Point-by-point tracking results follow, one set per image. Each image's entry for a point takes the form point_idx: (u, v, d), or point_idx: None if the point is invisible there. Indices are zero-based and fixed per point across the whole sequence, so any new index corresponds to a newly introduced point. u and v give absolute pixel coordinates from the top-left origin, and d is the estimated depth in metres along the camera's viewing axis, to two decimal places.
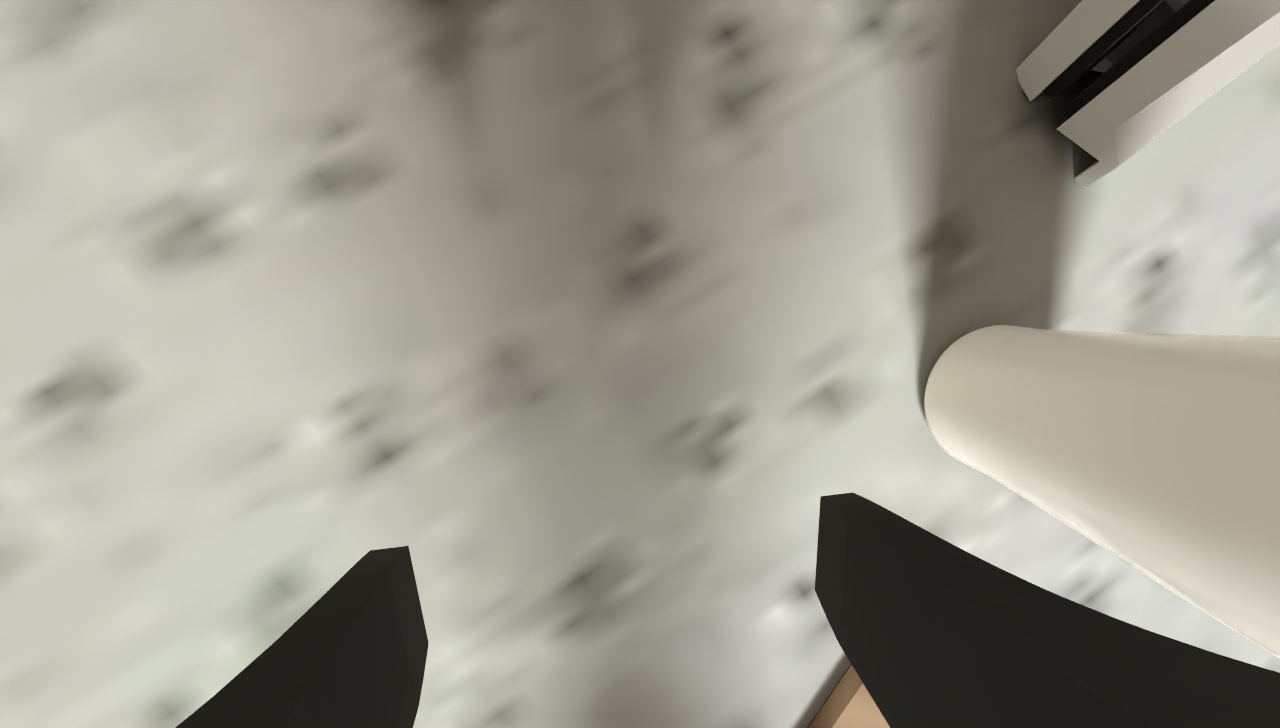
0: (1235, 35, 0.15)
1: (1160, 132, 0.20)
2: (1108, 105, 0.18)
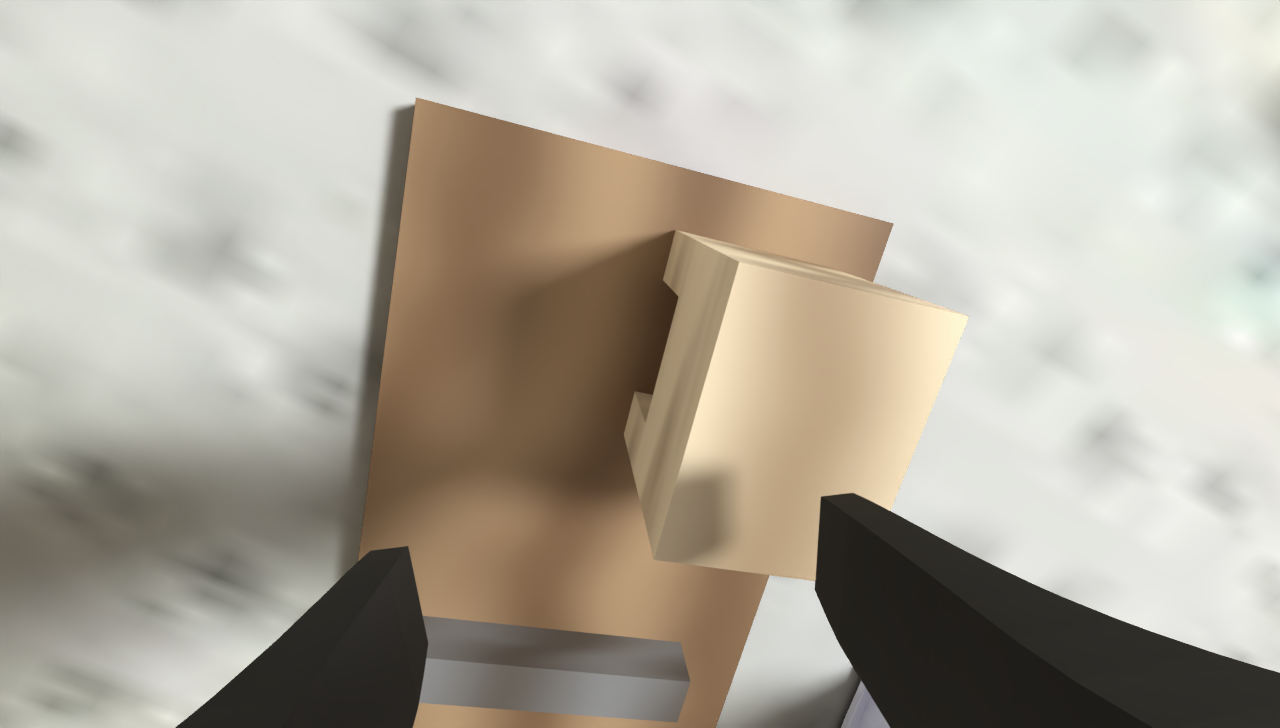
0: None
1: None
2: None
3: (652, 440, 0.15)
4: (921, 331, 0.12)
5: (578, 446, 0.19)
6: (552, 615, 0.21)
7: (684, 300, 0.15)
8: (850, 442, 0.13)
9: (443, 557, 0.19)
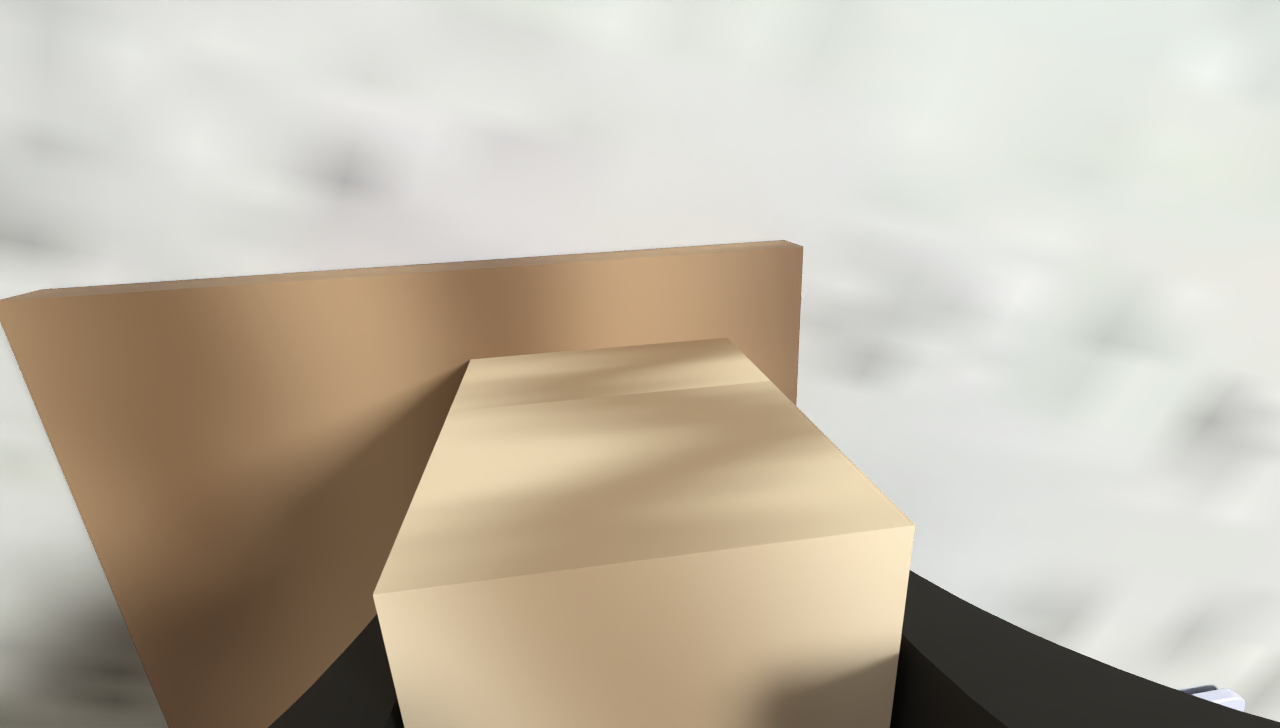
0: None
1: None
2: None
3: None
4: (823, 581, 0.06)
5: None
6: None
7: None
8: None
9: None
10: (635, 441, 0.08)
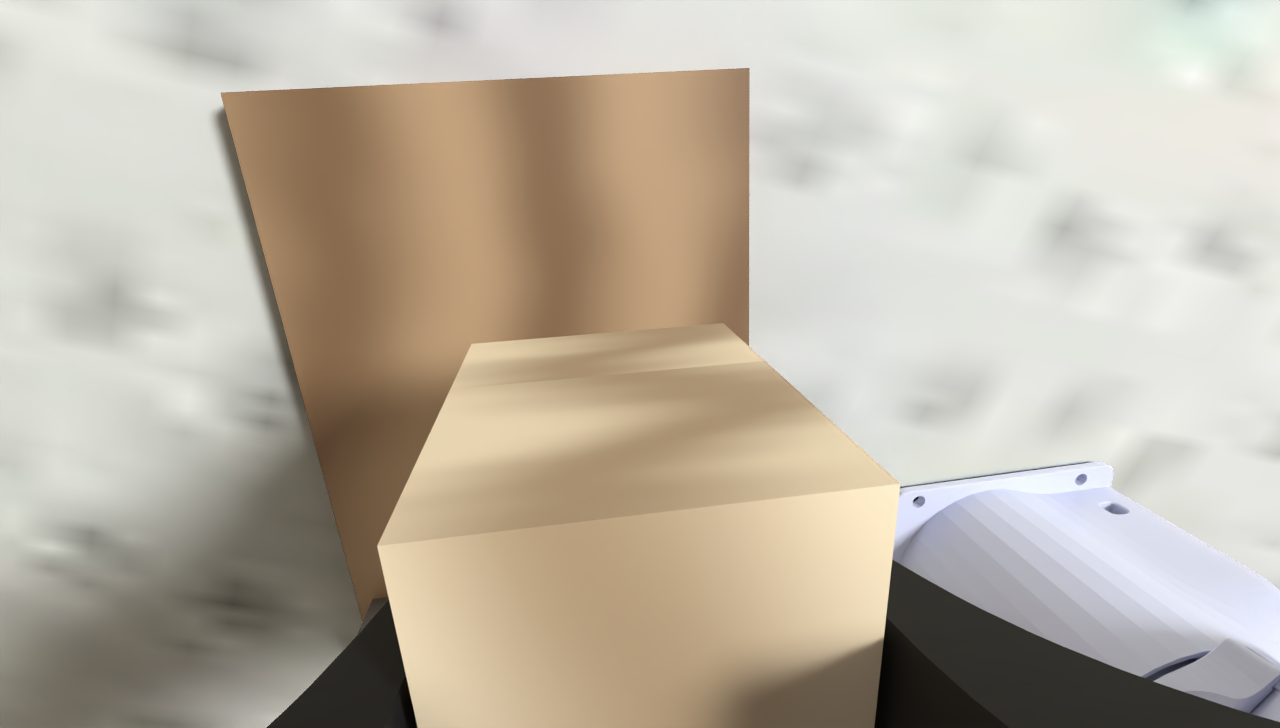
0: None
1: None
2: None
3: None
4: (812, 538, 0.06)
5: None
6: None
7: None
8: None
9: None
10: (632, 414, 0.08)
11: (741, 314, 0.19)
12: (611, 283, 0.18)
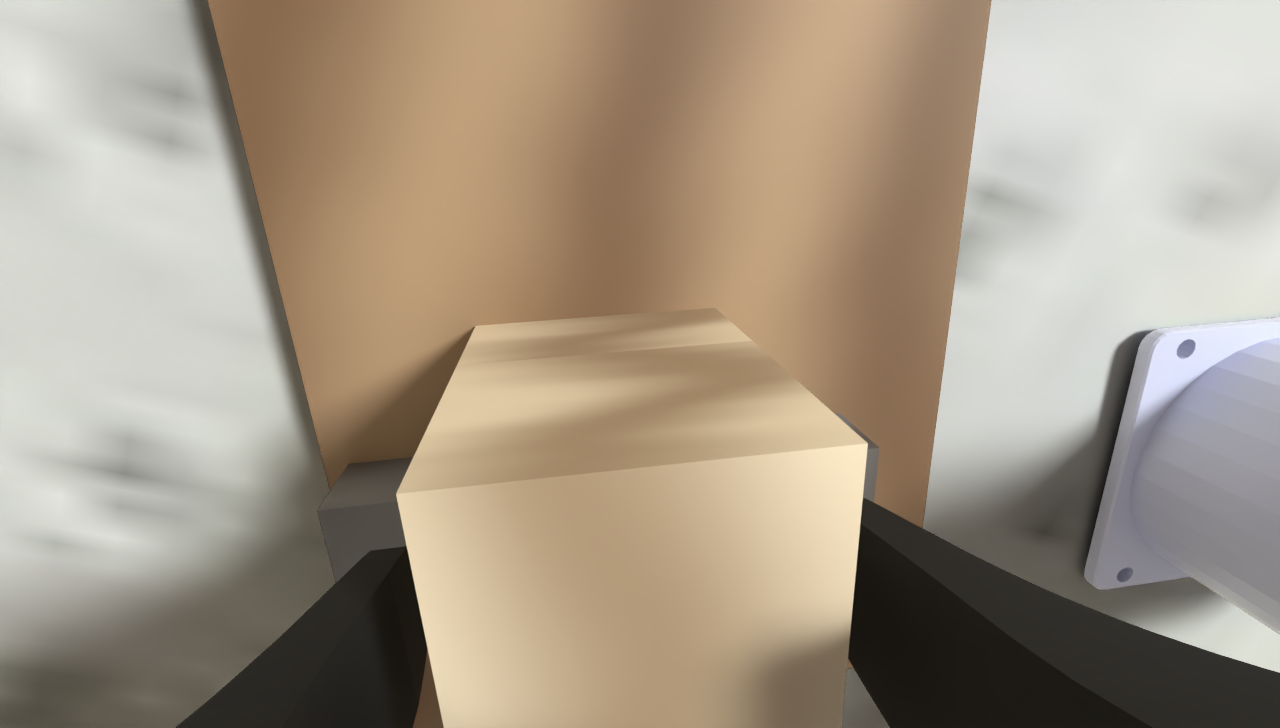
0: None
1: None
2: None
3: None
4: (788, 493, 0.07)
5: (590, 86, 0.11)
6: None
7: None
8: (730, 682, 0.07)
9: (433, 348, 0.12)
10: (626, 386, 0.08)
11: None
12: None
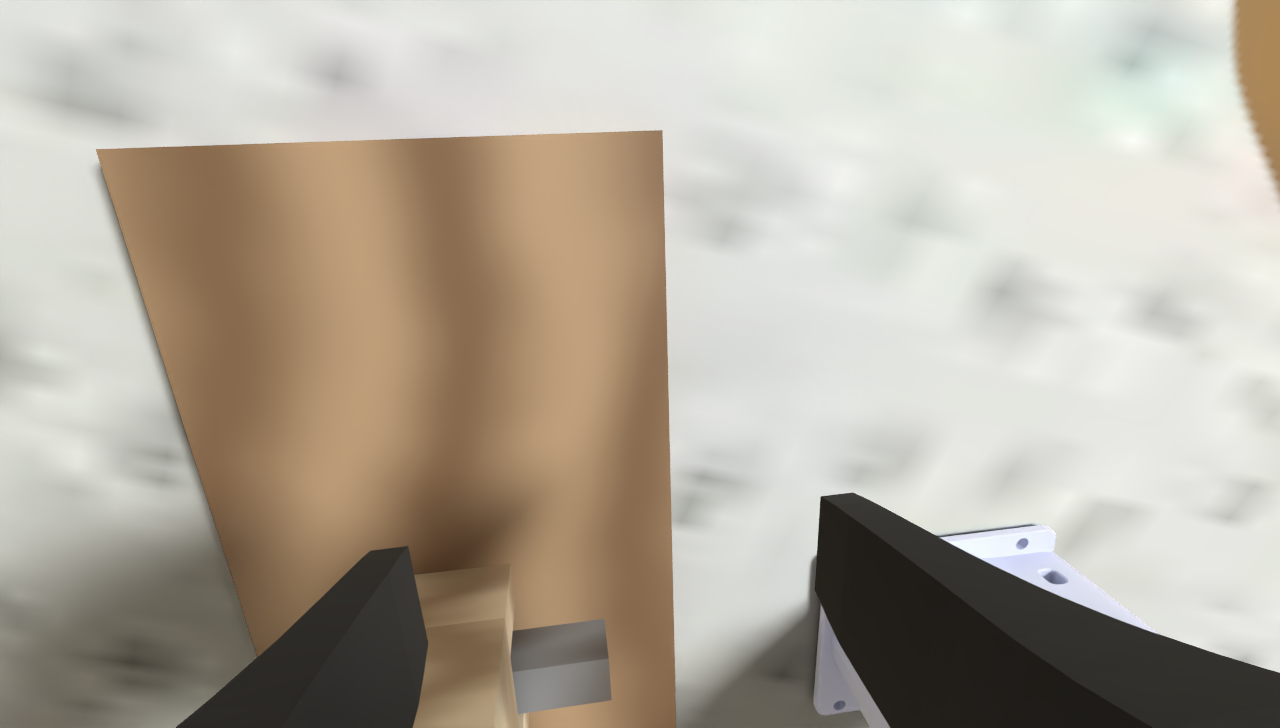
0: None
1: None
2: None
3: None
4: None
5: (417, 453, 0.18)
6: None
7: None
8: None
9: None
10: None
11: (660, 378, 0.18)
12: (521, 346, 0.17)
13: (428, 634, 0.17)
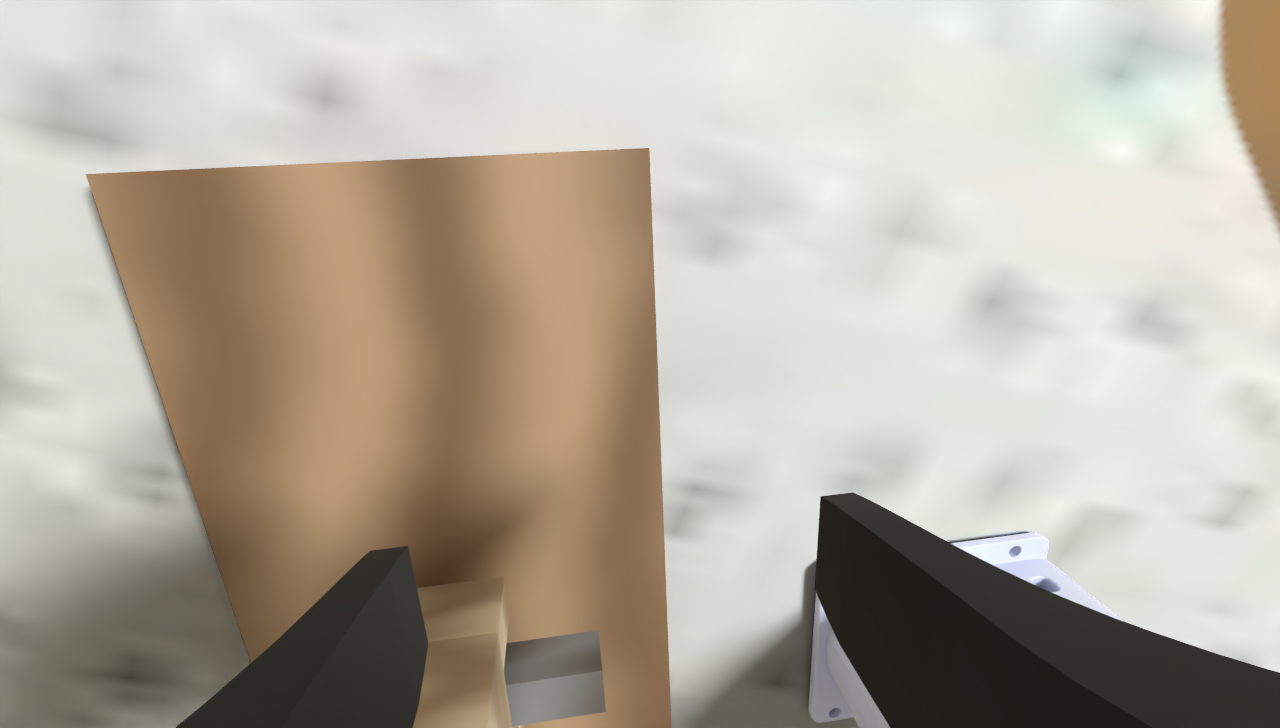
0: None
1: None
2: None
3: None
4: None
5: (409, 469, 0.18)
6: None
7: None
8: None
9: None
10: None
11: (650, 392, 0.18)
12: (511, 362, 0.17)
13: None
